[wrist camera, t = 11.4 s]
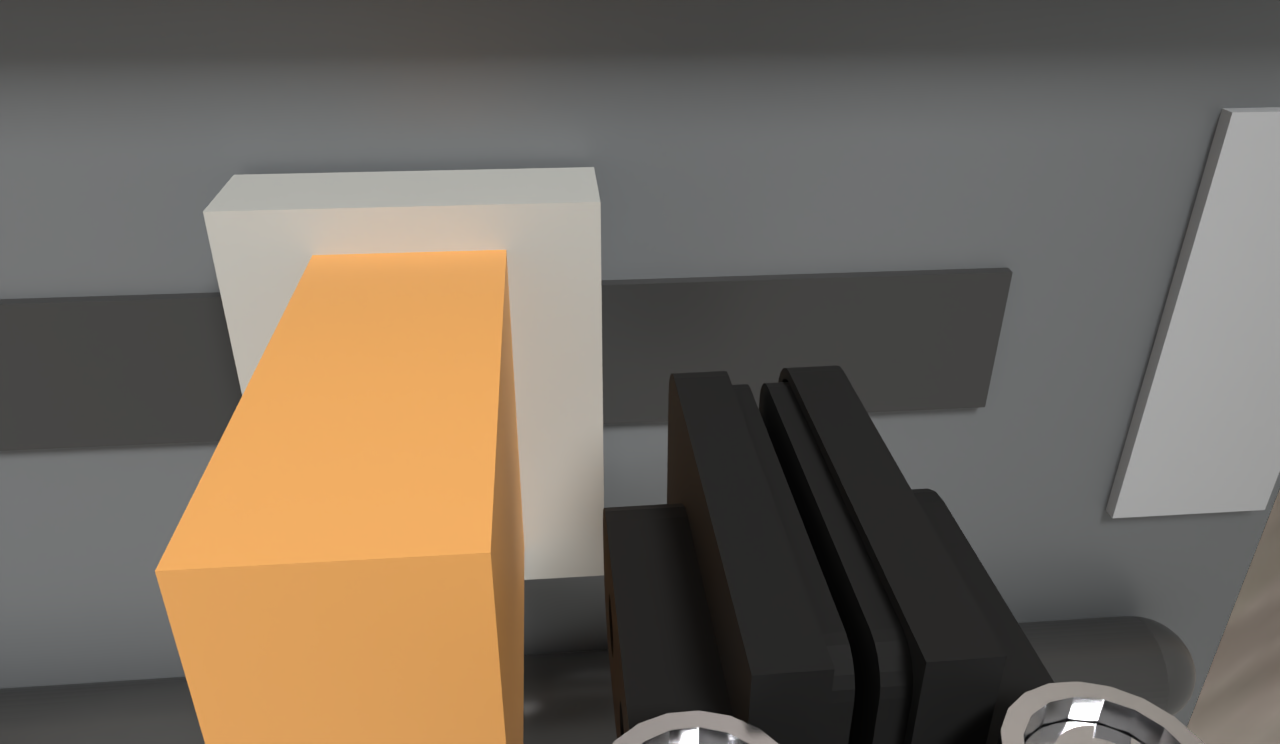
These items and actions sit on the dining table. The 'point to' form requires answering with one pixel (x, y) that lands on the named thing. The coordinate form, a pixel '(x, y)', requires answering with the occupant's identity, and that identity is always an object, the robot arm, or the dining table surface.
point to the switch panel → (677, 286)
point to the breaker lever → (392, 452)
